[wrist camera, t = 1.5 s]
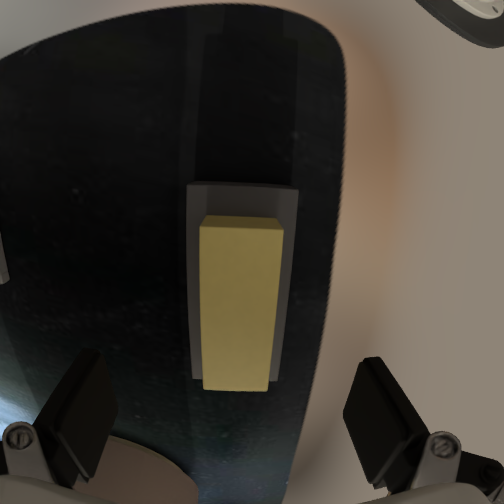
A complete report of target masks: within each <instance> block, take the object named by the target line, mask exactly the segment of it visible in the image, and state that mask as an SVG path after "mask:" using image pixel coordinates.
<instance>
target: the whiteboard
mask: <svg viewBox="0 0 504 504" xmlns="http://www.w3.org/2000/svg"><path fill="white" fill-rule="evenodd" d="M9 280H10V278H9V274H8V269H7V265H6V260H5V255H4V250H3V245H2V239H1V233H0V284H4V283H6V282H7V281H9Z"/></svg>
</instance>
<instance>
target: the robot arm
mask: <svg viewBox="0 0 504 504" xmlns="http://www.w3.org/2000/svg"><path fill="white" fill-rule="evenodd" d="M452 1H454V2H455V3H457V4H458V5H459V6H461V7H462V8H464V9H465V10H467V11H469V12H470V13H472V14H474V15H476V16H479V17H481V18H485V19H494V18H496V17H499V16H500V15H501V14H502V13H503V10H504V0H452ZM117 413H118V403H117V400H116V397H115V394H114V391H113V387H112V384H111V380H110V377H109V373H108V369H107V366H106V362H105V358H104V356H103V355H102V354H100V352H99V350H95V349H89V348H83V349H82V351H81V352H80V353H79V355H78V356H77V358H76V359H75V360H74V362H73V363H72V365H71V366H70V368H69V369H68V371H67V372H66V373H65V375H64V376H63V378H62V379H61V381H60V382H59V384H58V385H57V387H56V388H55V390H54V391H53V393H52V394H51V396H50V397H49V399H48V400H47V402H46V404H45V405H44V407H43V408H42V410H41V412H40V413H39V415H38V416H37V418H36V420H35V421H34V423H33V425H31V424H29V423H27V422H22V421H20V422H15V423H12V424H10V425H9V426H7V428H6V429H5V430H4V432H3V435H2V441H0V504H121V503H117V502H113V501H109V500H105V499H101V498H98V497H94V496H91V495H87V494H84V493H81V492H78V491H76V490H75V488H74V485H75V482H76V481H79V482H82V483H85V484H88V482H89V479H90V478H93V477H94V475H95V473H96V470H97V467H98V464H99V461H100V459H101V456H102V453H103V450H104V447H105V445H106V442H107V439H108V437H109V434H110V431H111V429H112V426H113V424H114V421H115V419H116V416H117ZM343 419H344V421H345V424H346V427H347V429H348V431H349V434H350V437H351V439H352V442H353V444H354V447H355V450H356V452H357V455H358V458H359V460H360V463H361V465H362V468H363V471H364V473H365V476H366V479H367V481H368V483H370V484H373V487H374V489H379V488H382V487H387V489H388V491H389V492H388V495H387V497H383V498H380V499H376V500H372V501H368V502H364V503H360V504H504V467H503V466H502V465H501V463H499V462H498V461H496V460H494V459H490V458H486V457H482V456H479V455H475V454H471V453H468V452H465V451H461V443H460V441H459V439H458V438H457V437H456V436H454V435H453V434H452V433H449V432H445V431H439V432H435V433H432V434H430V433H429V431H428V429H427V427H426V425H425V424H424V422H423V421H422V419H421V418H420V416H419V414H418V413H417V412H416V410H415V408H414V407H413V405H412V404H411V402H410V401H409V399H408V398H407V396H406V395H405V393H404V392H403V390H402V388H401V387H400V386H399V384H398V382H397V381H396V380H395V378H394V377H393V375H392V374H391V372H390V371H389V369H388V368H387V366H386V365H385V363H384V362H383V360H382V359H381V358H380V357H369V358H364V360H363V362H360V363H359V365H358V368H357V371H356V375H355V377H354V381H353V384H352V387H351V390H350V393H349V396H348V398H347V401H346V404H345V407H344V410H343Z"/></svg>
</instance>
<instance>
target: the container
mask: <svg viewBox="0 0 504 504" xmlns="http://www.w3.org/2000/svg"><path fill="white" fill-rule="evenodd" d="M74 488H75V490H76V491H78V492H81V493H84V494H87V495H91V496H94V497H98V498H101V499H105V500H109V501H113V502H117V503H121V504H198V493H199V491H198V487H197V485H196V484H195V482H194V481H193V480H192V479H191V478H190V477H189V476H187V475H186V474H185V473H184V472H183V471H182V470H181V469H180V468H179V467H178V466H177V465H175V464H174V463H173V462H171V461H170V460H168V459H167V458H165V457H164V456H162V455H160V454H158V453H156V452H154V451H152V450H150V449H148V448H146V447H143V446H141V445H139V444H136V443H133V442H131V441H128V440H125V439H122V438H118V437H115V436H111V435H109V437H108V439H107V442H106V445H105V447H104V450H103V453H102V456H101V459H100V461H99V464H98V467H97V470H96V473H95V475H94V477H93V478H90V479H89V482H88V484H85V483H82V482H79V481H76V482H75V485H74Z"/></svg>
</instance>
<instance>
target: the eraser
mask: <svg viewBox="0 0 504 504" xmlns="http://www.w3.org/2000/svg"><path fill="white" fill-rule="evenodd" d="M298 192H299V190H298V189H296V188H294V187H292V186H290V185H279V184H263V183H243V182H217V181H194V182H192V183H189V184H187V197H186V262H187V298H188V320H189V338H190V353H191V367H192V378H193V379H203V388H204V389H207V390H227V391H267V389H268V381H277V380H278V373H279V366H280V359H281V352H282V344H283V337H284V329H285V321H286V313H287V304H288V296H289V287H290V278H291V269H292V259H293V249H294V239H295V228H296V217H297V205H298Z"/></svg>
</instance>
